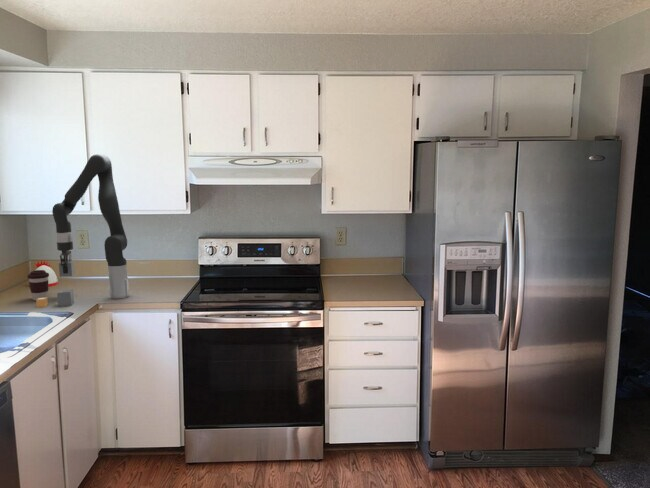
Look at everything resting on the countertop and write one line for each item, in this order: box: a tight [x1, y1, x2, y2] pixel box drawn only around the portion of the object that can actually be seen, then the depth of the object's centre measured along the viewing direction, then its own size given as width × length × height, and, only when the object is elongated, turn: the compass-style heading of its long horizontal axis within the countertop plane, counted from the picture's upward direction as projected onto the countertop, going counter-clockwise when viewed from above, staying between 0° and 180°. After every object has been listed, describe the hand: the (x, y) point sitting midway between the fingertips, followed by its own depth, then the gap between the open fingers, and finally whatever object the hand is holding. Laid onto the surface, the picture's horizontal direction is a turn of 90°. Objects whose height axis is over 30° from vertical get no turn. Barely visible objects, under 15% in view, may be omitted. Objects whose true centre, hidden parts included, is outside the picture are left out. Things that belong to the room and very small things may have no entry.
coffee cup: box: [26, 269, 49, 301], centre depth 277 cm, size 10×10×15 cm
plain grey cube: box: [58, 260, 75, 278], centre depth 279 cm, size 6×6×7 cm
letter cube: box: [36, 297, 49, 308], centre depth 264 cm, size 4×4×4 cm
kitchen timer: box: [34, 259, 59, 288], centre depth 311 cm, size 14×14×15 cm
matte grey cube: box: [57, 289, 75, 307], centre depth 266 cm, size 6×6×7 cm
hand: (67, 272), depth 280 cm, fingers closed on plain grey cube, 6 cm apart
